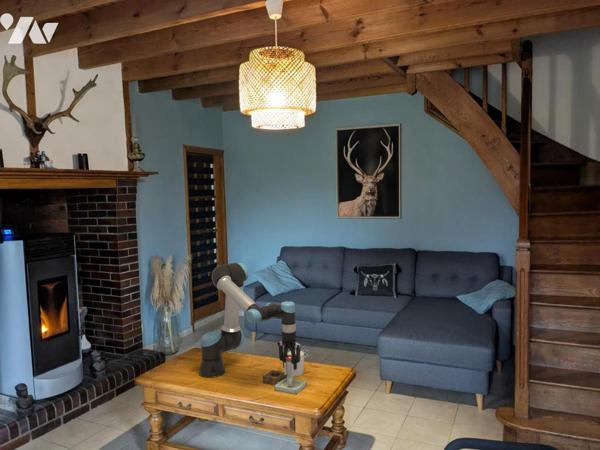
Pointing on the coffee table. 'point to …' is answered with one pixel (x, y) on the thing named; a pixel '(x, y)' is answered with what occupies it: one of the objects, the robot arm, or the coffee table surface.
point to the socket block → (273, 377)
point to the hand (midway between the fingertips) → (290, 374)
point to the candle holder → (299, 364)
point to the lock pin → (289, 370)
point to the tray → (290, 389)
